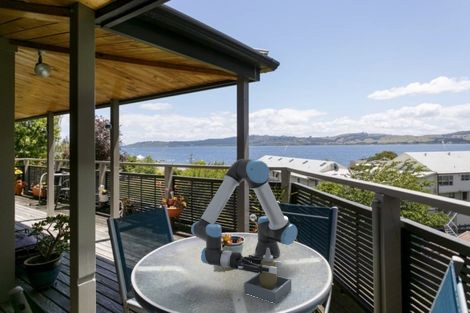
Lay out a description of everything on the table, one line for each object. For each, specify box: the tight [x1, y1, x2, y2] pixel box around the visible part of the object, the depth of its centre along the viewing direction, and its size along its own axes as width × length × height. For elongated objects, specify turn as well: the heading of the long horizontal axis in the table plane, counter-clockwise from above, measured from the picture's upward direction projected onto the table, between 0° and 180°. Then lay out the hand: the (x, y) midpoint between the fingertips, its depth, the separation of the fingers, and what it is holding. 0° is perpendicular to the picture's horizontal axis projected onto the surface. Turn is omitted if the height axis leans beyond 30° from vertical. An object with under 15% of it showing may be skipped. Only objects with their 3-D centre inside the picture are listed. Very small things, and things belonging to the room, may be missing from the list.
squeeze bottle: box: [259, 248, 277, 290], centre depth 140 cm, size 8×8×18 cm
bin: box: [243, 273, 292, 304], centre depth 141 cm, size 16×16×5 cm
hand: (278, 267), depth 138 cm, fingers closed on squeeze bottle, 6 cm apart
